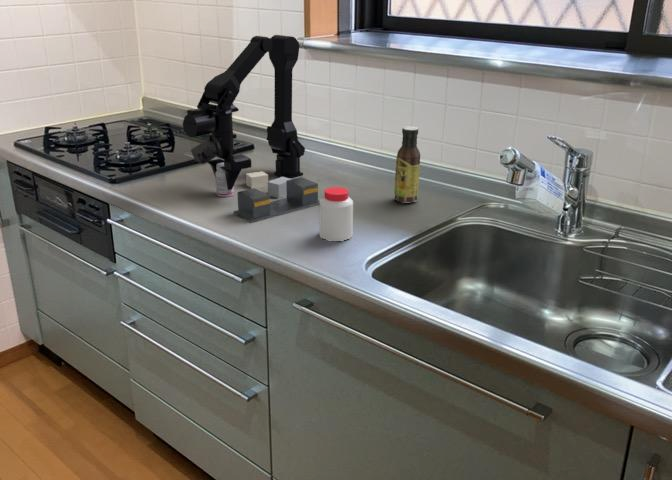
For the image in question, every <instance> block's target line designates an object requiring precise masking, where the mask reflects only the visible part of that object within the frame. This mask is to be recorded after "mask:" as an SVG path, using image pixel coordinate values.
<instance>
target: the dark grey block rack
mask: <svg viewBox="0 0 672 480" xmlns="http://www.w3.org/2000/svg"><path fill="white" fill-rule="evenodd" d="M290 179H291V180H287V181H286V187H287V196H286V197H285V198H280V199H276V200H274V201H273V200H272V201H271V196H270V195H268V193H266V192H263V191H261V190H260V189H258V188H253V189H251V188H249V189H245V190H241V191H237V210H234V211H233V214H234V215H236V216H238V217H240V218H241V219H244V220H246V221H248V222H249V223H251V224H252V223H255V222H258V221H259V222H260V221H262V220H267V219H270V218H271V219H272V218H273V217H278V216H281V214H282V215H284V214H285V213H286V214H289V213H292V212H295V211H296V210H297V211H301V210H304V209H308V208H311V206H312V207H315V206H320V200H321V199H319V184H318V182H315V181H313V180H310V179H308V178H305V177H303V176H302V177H300V176H299V177H297V178H290Z"/></svg>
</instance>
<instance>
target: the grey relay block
mask: <svg viewBox="0 0 672 480" xmlns="http://www.w3.org/2000/svg"><path fill="white" fill-rule="evenodd" d="M291 179H292V178H286V177H281V176H279V177H277V178H274V179H272V180H268V187H267V194H268V195H270V197H272V198H275V199H283V197H287V187H286V181H287V180H291Z"/></svg>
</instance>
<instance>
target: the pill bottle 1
mask: <svg viewBox="0 0 672 480" xmlns="http://www.w3.org/2000/svg"><path fill="white" fill-rule="evenodd" d="M223 166H224V163H218V164H217V165H216V169H217V171H216V178H215V189H216V195H217V196H218V197H223V198H225V197H231V196H234V195H235V185H234V186H233V188H232V190H228V187H227V182H226V176H225V172H224V171H223V170H222V169H221V168H220V167H223Z"/></svg>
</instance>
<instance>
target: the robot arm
mask: <svg viewBox="0 0 672 480" xmlns="http://www.w3.org/2000/svg"><path fill="white" fill-rule="evenodd" d="M299 42H300V41H298V39H297V38H296V37H294V36H292V35H281V34H274V35H272V36H271V37H267V36H263V35H255V36H252V37H251V39H250V41H249V43H248V44H247V45H246V47H245V48H244V49H243V50H242V51H241V53H240V54H239V55H238V56H237V57H236V58H235V60H234V61H233V62H232V63H231V64H230V66H228V68H227V69H226V70H225V71H223V72H221V73H220V74H218V75H214V77H213V78H212V79H211V80H209V81H208V82H207V83H206V84H205V86H204V91H203V93H202V95H201V98H200V100H199V101H198V104H197V106H196V108H195V109H193V108H191V109H190V108H189V109H187V111H186V112H187V113H186V115H185V116H184V118H183V121H182V127H183V131H184V133H185V134H186V135H187V137H189V138H197V137H201V136H205V135H207V136H206V140H205V141H204V142H201V143H199V144H198V145H196V146H194V147H193V148H191V149H190V152H191V155H192V156H193V159H194V161H195V162H198V163H200V164H202V165H203V164H206V163H207V164H208V165H209V166H210V167H211V169H212V172H213V174H214V177H215V179H216V171H217V169H216V165H217V164H218V163H224V166H223V167H220V168H221V169H222V170H223V171H224V172H225V176H226V182H227V187H228V190H232V188H233V186H234V187H235V183H236V181H237V179H238V178H239V175H240V173H241V171H242V170H246V169H250V168H252V159H251V158H250V157H249V156H246V155H245V154H241V153H240V154H238V149H237V148H234V147H235V144H234V140H235V139H237V134H236V133H234V128H233V126H234V125H233V113H236V112H239V111H240V109H239V108H238V107H237V106H236V105H234V102H235V100H236V98H237V97H238V96H239V94H240V90H241V85H242V83H243V81H245V79H246V78H247V77H248V76H249V75H250V73H251V72H252V70H253V69H254V68H255V67H256V66H257V65H258V63H259V62H260V61H261V60H262V59H263V58H264V56H265V55H266V54H267V53H268V57H269V60H270V62H271V64H272V67H273V69H274V113H273V114H274V119H273V122H272V123H271V126H270V125H268V126H267V127H266V132H267V134H266V141H267V142H268V146H270V149H271V153H272V154H276V160H275V171H274V172H273V174H274V175H277V176H279V177H286V178H290V179H292V178H295V177H300V176H303V175H304V173H303V172H302V171H301V159H300V158H302V156H304V155H305V151H306V148H305V146H304V145H303V144H302V143H301V142H300V140H299V138H298V130H297V128H296V126H295V124H294V122H293V69H294V68H295V65H296V63H297V62H298V60H299V52H300V43H299Z"/></svg>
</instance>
